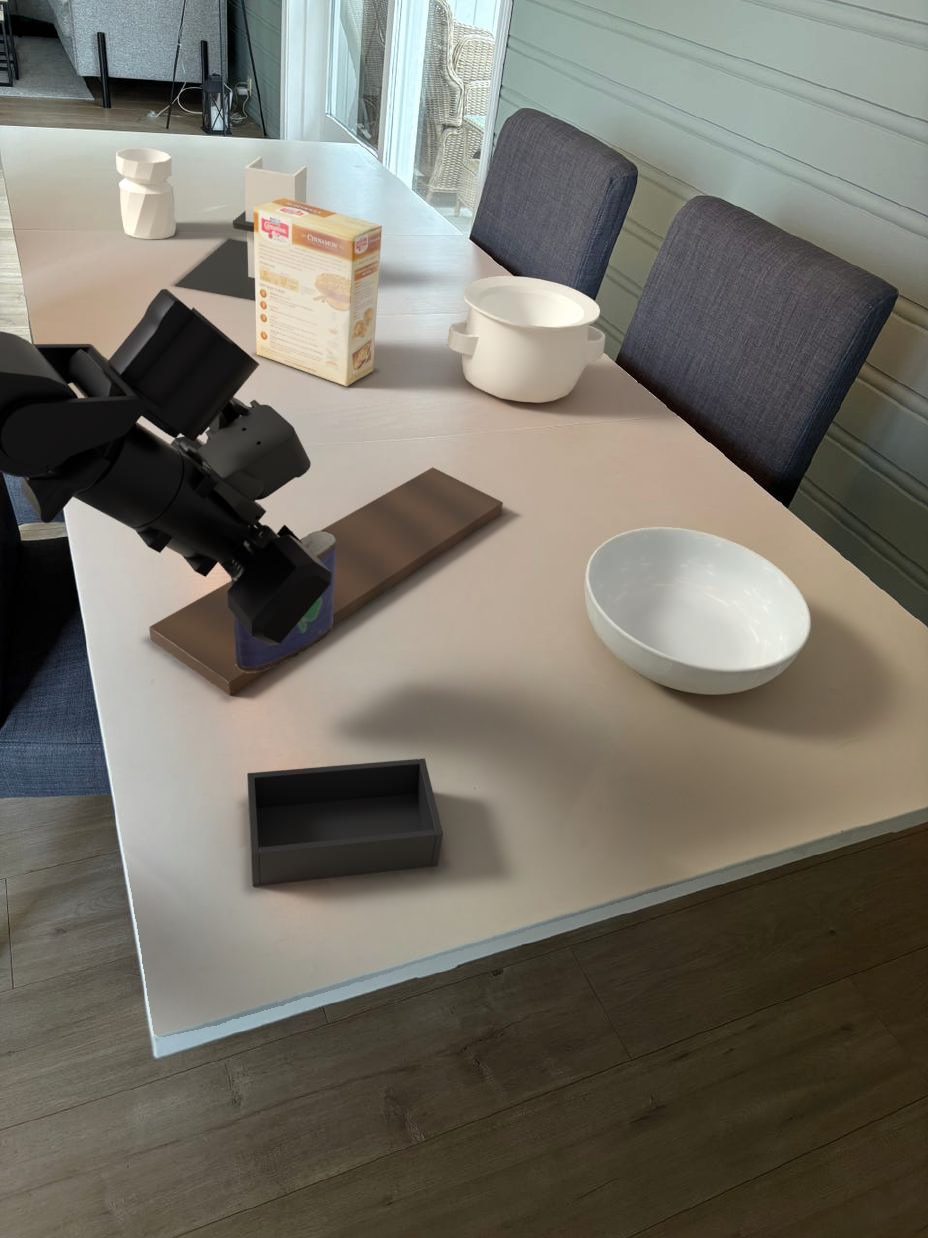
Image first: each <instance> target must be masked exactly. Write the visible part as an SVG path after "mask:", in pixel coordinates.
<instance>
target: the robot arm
mask: <svg viewBox="0 0 928 1238" xmlns="http://www.w3.org/2000/svg"><path fill="white" fill-rule="evenodd" d="M259 366H260V363H259V362H258V361H256V359H254V358H253V357H252V356H251V355H250V354H248V353H247V351H245V350H244V349H243V348H242V347H240V345H238V344H237V343H236V342H235V341H234V340H232V339H231V338H230V337H228V335H226V334H225V333H224V332H223V331H222V330H221V329H220V328H218V327H217V326H216V325H215V324H213V323H212V322H211V321H210V320H209V319H208V318H206V316H204V315H203V314H202V313H201V312H199V310H197V309H196V308H195V307H194V306H193V307H192V308H190V307H189V306H187V305H186V304H185V303H184V302H183V301H182V300H181V299H179V298H178V297H177V296H176V295H175V294H173V293H172V291H170V290H169V289H168V288H162V289H160V290H159V291H158V293H157V294H156V296H155V297H154V298H153V299H152V300H151V301H150V303H149V305H148V306H147V308H146V310H145V313H144V315H143V316H142V317H141V319H140V321H139V322H138V323H137V324H136V326H135V327H134V328H133V329H132V330H131V332H130V333H129V335H128V336H127V337H126V338H125V339H124V341H123V342H122V343H121V344H120V346H118V348H117V349H116V351H115V352H114V353H113V354H112V355H111V357H110V358H109V359H108V358H107V357H105V356H104V355H103V354H102V353H101V352H100V351H99V350H98V349H97V348H96V347H95V346H94V344H91V343H31V342H30V341H29V340H27V339H25V338H23V337H21V336H19V335H17V334H14V333H10V332H6V331H0V473H1V474H4V475H8V476H11V477H17V478H21V493H22V494H23V496H24V497H25V499H26V501H27V502H28V503H29V505H30V506H31V508H32V509H33V511H34V512H35V514H36V515H37V517H38V518H39V519H40V521H41V522H42V523H43V524H51V523H52V522H53V521H55V519H56V518H57V517H58V516H59V515H60V513H61V512H62V510H64V508H65V507H66V506H67V505H68V504H69V502H71V500H72V499H73V498H75V499H77V500H78V501H80V502H81V503H84V504H85V505H87V506H90V507H91V508H93V509H95V510H97V511H98V512H101V513H102V514H105V515H106V516H108V517H110V518H112V519H114V520H115V521H117V522H119V523H121V524H123V525H125V526H127V527H129V528H130V529H132V530H134V531H135V532H136V533H137V535H138V536H139V537H140V538H141V540H142V541H143V543H144V544H145V545H146V546H147V547H148V548H149V549H151V550H153V551H155V552H157V553H158V554H161V553H162V552H163V550H164V549H165V548H167V549H169V550H171V551H173V552H176V553H177V554H179V555H180V556H182V557H183V559H184V560H185V561H186V562H187V564H188V565H189V566H190V568H191V569H192V570H193V571H194V572H195V573H197V574H199V575H200V576H202V577H204V578H206V577H207V576H208V575H209V574H210V572H211V571H212V570H213V569H214V568H215V566H216V565H217V564H219V565H220V567H222V569H223V570H224V571H225V572H226V573H227V575H228V576H229V577H230V579H231V578H232V579H234V580H236V582H235V583H234V584H233V585H232V586H231V588H230V589H229V590H228V591H227V598H228V608H229V609H230V610H231V611H232V613H233V614H234V615H235V616H236V618H237V619H238V620H239V621H240V622H241V624H242V625H243V626H244V627H245V629H246V630H247V631H248V632H249V633H250V635H251V636H252V637H254V638H256V639H258V640H260V641H262V642H264V643H267V644H269V645H277V644H281V643H282V641H283V640H284V639H285V638H286V637H287V635H288V634H289V633H290V632H291V631H292V630H293V628H294V627H295V626H296V625H297V624H298V622H299V621H300V620H301V619H302V618H303V616H304V615H305V614H306V613H307V612H308V611H309V609H310V608H311V607H312V606H313V605H314V603H315V602H316V601H317V600H318V599H319V598H320V596H321V595H322V594H323V593H324V592H325V590H326V589H327V588H328V587H329V586H330V584H331V578H332V572H331V571H330V570H329V569H328V568H327V567H326V566H325V565H324V564H323V563H322V562H321V561H320V560H319V559H318V558H317V557H316V556H315V555H314V554H313V553H312V552H311V551H310V550H309V549H308V548H307V547H305V546H304V545H303V543H302V542H301V541H300V540H301V539H299V537H298V536H297V535H296V534H295V533H294V531H293V530H291V529H290V528H289V527H288V526H287V525H286V524H283V525H282V526H281V527H280V528H279V530H278V531H277V532H276V531H275V530H274V529H273V528H272V527H270V526H269V525H267V524H262V523H261V522H260V520H261V519H262V518H263V516H264V515H265V514H266V513H267V510H266V509H265V508H264V507H263V506H262V504H260V503H258V502H257V501H261V500H265V499H266V498H269V497H270V496H271V495H272V494H274V493H276V492H277V491H278V490H279V489H281V488H282V487H284V486H285V485H287V484H288V483H290V482H291V481H292V480H294V479H296V478H297V479H299V478H301V477H302V476H304V475H306V473H307V472H308V471H309V470H310V468H311V465H312V463H311V460H310V458H309V456H308V454H307V452H306V449H305V448H304V445H303V444H302V442H301V440H300V438H299V436H298V433H297V431H296V429H295V428H294V426H293V425H292V424H291V423H290V422H288V420H287V419H286V418H285V417H283V416H282V415H281V414H280V413H279V412H277V410H275V409H274V407H272V406H270V405H269V404H260V403H259V402H258V400H256V399H252V400H251V401H250V402H249V404H250V406H248V405H246V404H245V403H244V402H242V401H241V400H240V399H238V398H236V397H235V395H236V394H237V393H238V392H239V391H240V389H241V388H242V387H244V384H245V383H246V382H247V381H248V379H249V378H251V376H252V375H253V373H254V372H255V371H256V370H257V369H258V368H259ZM71 384H72V385H73V386H74V387H75V389H77V391H78V392H79V393H80V394H81V396H83V397H79V396H78V395H77V393H76V392H75V391H74V390H73V388H72V387H71V386H70V385H71ZM141 417H143V418H144V419H145V420H146V421H148V422H149V423H150V424H152V425H153V426H155V427H156V428H157V429H159V430H160V431H162V432H163V433H165V434H166V435H168V436H170V437H171V438H172V439H173V440H172V441H171V443H169V442H167V441H166V440H165V439H163V438H162V437H161V436H158V435H157V434H156V433H154V432H153V431H151V430H150V429H148V428H146V427H145V426H143V425H142V424H140V423H139V422H138V421H139V420H140V418H141ZM208 428H209V429H208ZM204 433H205V435H206V436H207V438H206V442H204V441H202V440H201V439H200V438H199V436H202V435H204ZM180 435H182V436H180Z"/></svg>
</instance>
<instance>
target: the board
mask: <svg viewBox="0 0 928 1238" xmlns="http://www.w3.org/2000/svg"><path fill="white" fill-rule="evenodd" d="M503 503H504V502H503V501H502V500H500V499H498V498H495V497H493V496H491V495H489V494H487V493H486V492H484V491H482V490H480V489H477V488H475V487H473V486H472V485H469V484H467V483H465V482H463V481H462V480H459V479H457V478H455V477H453V476H452V475H449V474H447V473H446V472H444V471H441V470H439V469H438V468H435V467H434V466H433V467H430V468H428V469H427V470H425V471H423V472H421V473H419V474H418V475H416V476H415V477H413V478H411V479H409V480H407V481H405V482H404V483H402V484H401V485H398V486H397V487H395V488H393V489H391V490H390V491H388V492H386V493H385V494H382V495H381V496H379V497H377V498H375V499H374V500H372V501H370V502H368V503H366V504H365V505H363V506H362V507H360V508H358V509H356V510H354V511H352V512H351V513H349V514H347V515H345V516H344V517H342V518H340V519H338V520H337V521H335V522H333V523H331V524H330V525H327V526H326V527H324V528H322V529H320V530H319V531H322V532H327V533H329V534H332V535H333V536H334V537H335V538H336V540H337V547H336V561H335V581H334V582H335V583H334V595H333V624H332V628H333V627H334V626H336V625H337V624H338V623H340V622H342V621H344V619H347V617H349V616H350V615H352V614H353V613H355V612H357V611H358V610H360V609H361V608H363V607H364V606H365V605H367V604H368V603H370V602H371V601H373V600H374V599H376V598H377V597H379V596H380V595H382V594H384V593H385V592H386V591H387V590H389V589H391V588H392V587H394V586H395V585H397V584H398V583H400V582H402V580H404V579H406V578H407V577H408V576H410V575H411V574H413V573H414V572H416V571H417V570H419V569H421V568H422V567H424V566H425V565H427V564H428V563H429V562H431V561H433V560H434V559H436V558H437V557H439V556H440V555H441V554H443V553H445V551H447V550H450V549H451V548H452V547H453V546H454V545H456V544H457V543H459V542H460V541H462V540H463V539H465V538H467V537H468V536H469V535H471V534H473V533H474V532H475V531H477V530H479V529H481V527H483V526H485V525H486V524H487V523H489V522H490V521H492V520H493V519H495V518H496V517H498V516H500V515H501V514H502V509H503ZM231 586H232V583H231V580H230V581H227V582H226V583H225V584H223V585H221V586H219V587H218V588H215V589H214V590H212V591H210V592H208V593H206V594H205V595H203V596H201V597H199V598H198V599H196V600H194V601H193V602H191V603H189V604H188V605H186V606H184V607H182V608H180V609H178V610H176V611H174V612H172V613H171V614H169V615H168V616H166V617H165V618H163V619H161V620H159V621H157V622H155V623H154V624H152V625H150V626H149V627H148V631H149V636H150V641H152V642H153V643H155V644H156V645H157V646H159V647H160V648H161V649H163V650H165V652H167V653H169V654H170V655H172V657H174V658H176V659H177V660H179V661H180V662H182V663H183V664H184V665H186V666H187V667H189V668H190V669H192V670H193V671H194V672H196V674H199V675H200V676H201V677H203V678H204V679H206V680H207V681H208V682H210V683H211V684H213V685H214V686H215V687H217V688H218V689H220V690H221V691H223V692H224V693H225V694H227V695H229V696H232V695H233V694H235V693H236V692H238V691H239V690H240V689H242V688H244V687H245V686H247V684H250V683H251V682H252V681H254V680H256V679H257V678H258V677H260V676H261V675H263V674H264V673H266V672H267V671H268V670H270V669H272V668H273V667H271V668H269V669H267V670H264V671H260V672H257V673H246V672H242V671H241V670H240V669H238V667H237V666H235V664H236V654H235V635H234V614H233V613H232V611H231V610H230V609H229V608H228V598H227V591H228V590H229V589H230V588H231Z"/></svg>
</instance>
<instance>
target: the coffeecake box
mask: <svg viewBox="0 0 928 1238" xmlns="http://www.w3.org/2000/svg"><path fill="white" fill-rule="evenodd" d="M382 230H383V225H381V224H377V223H373V222H371V221H368V220H363V219H359V218H356V217H353V216H349V215H346V214H342V213H338V212H336V211H331V210H329V209H325V208H321V207H318V206H315V205H312V204H308V203H306V204H305V203H301V202H297V201H294V200H291V199H288V198H283V199H279V200H275V201H272V202H270V203H267V204H263V205H260V206H257V207H254V251H255V297H256V300H255V337H256V338H255V341H256V342H255V343H256V344H255V345H256V355H257V356H260V357H263V358H266V359H269V360H272V361H274V362H277V363H279V364H280V363H281V364H283V365H286V366H289V367H291V368H294V369H297V370H300V371H303V372H305V373H308V374H311V375H313V376H315V377H319V378H321V379H324V380H327V381H331V382H333V383H336V384H338V385H340V386H344V387H348V386H350V385H352V384H353V383H355V382H356V381H359V380H360V379H361V378H364V377H366V376H367V375H369V374H370V373H372V372H373V371H374V362H375V361H374V359H375V345H376V328H377V315H378V314H377V312H378V299H379V298H378V297H379V294H378V293H379V281H380V280H379V279H380V265H381V249H382V248H381V247H382V232H383V231H382Z"/></svg>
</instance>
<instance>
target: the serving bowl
mask: <svg viewBox="0 0 928 1238" xmlns="http://www.w3.org/2000/svg"><path fill="white" fill-rule="evenodd" d="M584 602H585V608H586V612H587V615H588V618H589V621H590V623H591V626H592V627H593V629H594V631H595V633H596V634H597V636H598V638H599V639H600V641H601V642H602V643H603V644H604V646H605V647H606V648H607V649H608V650H609V651H610V653H612V654H613V655H614V656H615V658H617V659H618V660H619V661H620V662H621V663H623V665H625V666H627V667H628V668H629V669H631V670H632V671H634V672H635V673H637V674H639V675H640V676H642V677H643V678H646V679H648V680H650V681H652V682H654V683H656V684H659V685H662V686H664V687H667V688H671V689H674V690H678V691H681V692H685V693H693V694H699V695H729V694H730V695H731V694H736V693H741V692H744V691H745V692H746V691H748V690H752V689H755V688H757V687H759V686H762V685H764V684H766V683H768V682H770V681H771V680H773V679H775V678H776V677H778V676H779V675H781V674H782V673H783V672H784V671H785V670H786V669H788V667H789V666H791V664H792V663H793V662H794V660H796V659H797V657H798V655H799V654H800V653H801V651H802V650H803V649H804V647H805V646H806V643H807V642H808V640H809V637H810V634H811V629H812V617H811V612H810V609H809V606H808V602H807V600H806V599H805V597H804V595H803V594H802V592H801V591H800V589H799V587H798V586H797V585H796V584H795V582H793V581H792V579H791V578H790V577H789V576H788V575H787V574H786V573H785V572H784V571H783V570H782V569H780V568H779V567H778V566H776V565H775V564H774V563H772V562H771V561H770V560H768V559H767V558H765V557H764V556H763V555H760V554H758V553H757V552H755V551H753V550H752V549H750V548H748V547H746V546H744V545H742V544H739V543H738V542H734V541H732V540H729V539H727V538H724V537H721V536H719V535H716V534H711V533H708V532H703V531H700V530H695V529H689V528H682V527H673V526H671V527H669V526H652V527H642V528H636V529H631V530H628V531H624V532H621V533H619V534H617V535H614V536H612V537H611V538H608V539H607V540H605V541H604V542H603V543H601V544H600V545H599V546H598V547H597V548H596V549H595V550H594V552H593V553H592V554H591V556H590V558H589V559H588V562H587V564H586V567H585V573H584Z"/></svg>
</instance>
